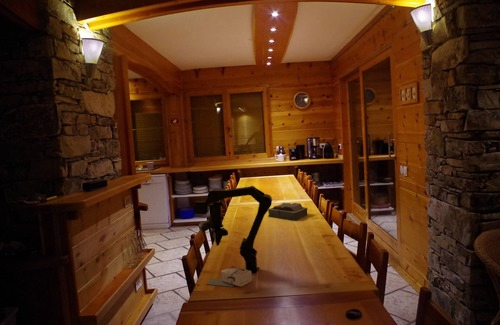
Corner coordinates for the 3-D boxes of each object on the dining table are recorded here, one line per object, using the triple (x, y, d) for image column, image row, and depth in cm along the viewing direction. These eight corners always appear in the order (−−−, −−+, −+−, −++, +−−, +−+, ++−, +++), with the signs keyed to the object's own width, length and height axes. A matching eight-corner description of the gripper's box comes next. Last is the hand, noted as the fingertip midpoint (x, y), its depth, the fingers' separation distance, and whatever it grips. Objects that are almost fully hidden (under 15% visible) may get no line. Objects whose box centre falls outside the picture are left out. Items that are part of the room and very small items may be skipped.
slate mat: (211, 279, 164) (211, 278, 164) (237, 281, 160) (237, 281, 160) (206, 284, 158) (206, 284, 158) (233, 287, 155) (233, 286, 155)
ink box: (232, 265, 167) (252, 270, 159) (232, 275, 167) (252, 280, 160) (220, 270, 160) (240, 276, 153) (220, 281, 160) (240, 287, 153)
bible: (289, 223, 250) (289, 209, 249) (264, 216, 271) (264, 204, 270) (311, 216, 265) (310, 203, 264) (286, 210, 286) (285, 199, 285)
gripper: (195, 212, 176) (197, 242, 177) (204, 221, 158) (206, 254, 160) (216, 209, 180) (218, 238, 181) (227, 218, 162) (229, 250, 164)
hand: (217, 245), depth 172 cm, fingers closed
